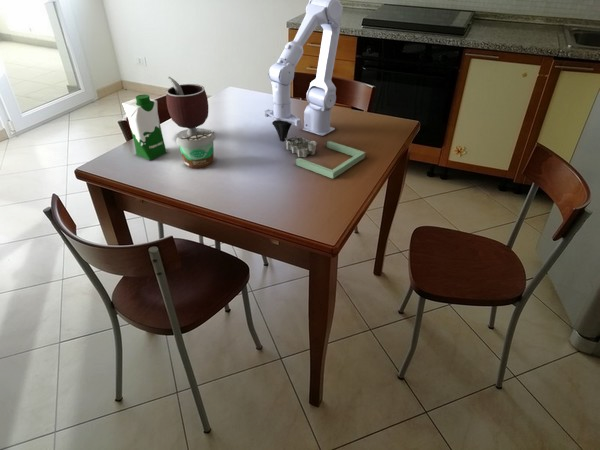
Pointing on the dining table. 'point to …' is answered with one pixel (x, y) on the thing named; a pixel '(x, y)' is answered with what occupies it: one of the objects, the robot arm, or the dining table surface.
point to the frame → (339, 169)
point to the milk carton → (145, 126)
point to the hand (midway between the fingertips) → (283, 140)
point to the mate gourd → (187, 107)
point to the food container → (197, 150)
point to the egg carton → (301, 146)
